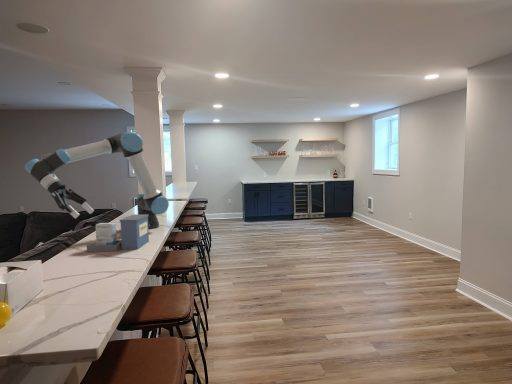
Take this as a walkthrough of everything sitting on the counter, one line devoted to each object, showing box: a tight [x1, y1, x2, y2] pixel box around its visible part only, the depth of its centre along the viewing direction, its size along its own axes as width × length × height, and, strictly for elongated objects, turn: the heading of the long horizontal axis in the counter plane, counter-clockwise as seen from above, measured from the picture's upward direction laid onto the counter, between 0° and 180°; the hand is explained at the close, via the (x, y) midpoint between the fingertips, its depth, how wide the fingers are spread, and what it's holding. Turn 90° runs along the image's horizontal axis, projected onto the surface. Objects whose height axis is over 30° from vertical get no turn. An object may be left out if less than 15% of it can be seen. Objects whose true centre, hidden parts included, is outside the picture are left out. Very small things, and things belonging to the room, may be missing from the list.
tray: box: [86, 239, 122, 252], centre depth 161 cm, size 11×15×3 cm
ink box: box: [95, 222, 118, 245], centre depth 161 cm, size 9×5×12 cm, turn 89°
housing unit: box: [119, 214, 150, 250], centre depth 166 cm, size 17×9×15 cm, turn 179°
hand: (85, 214), depth 160 cm, fingers open, 13 cm apart
